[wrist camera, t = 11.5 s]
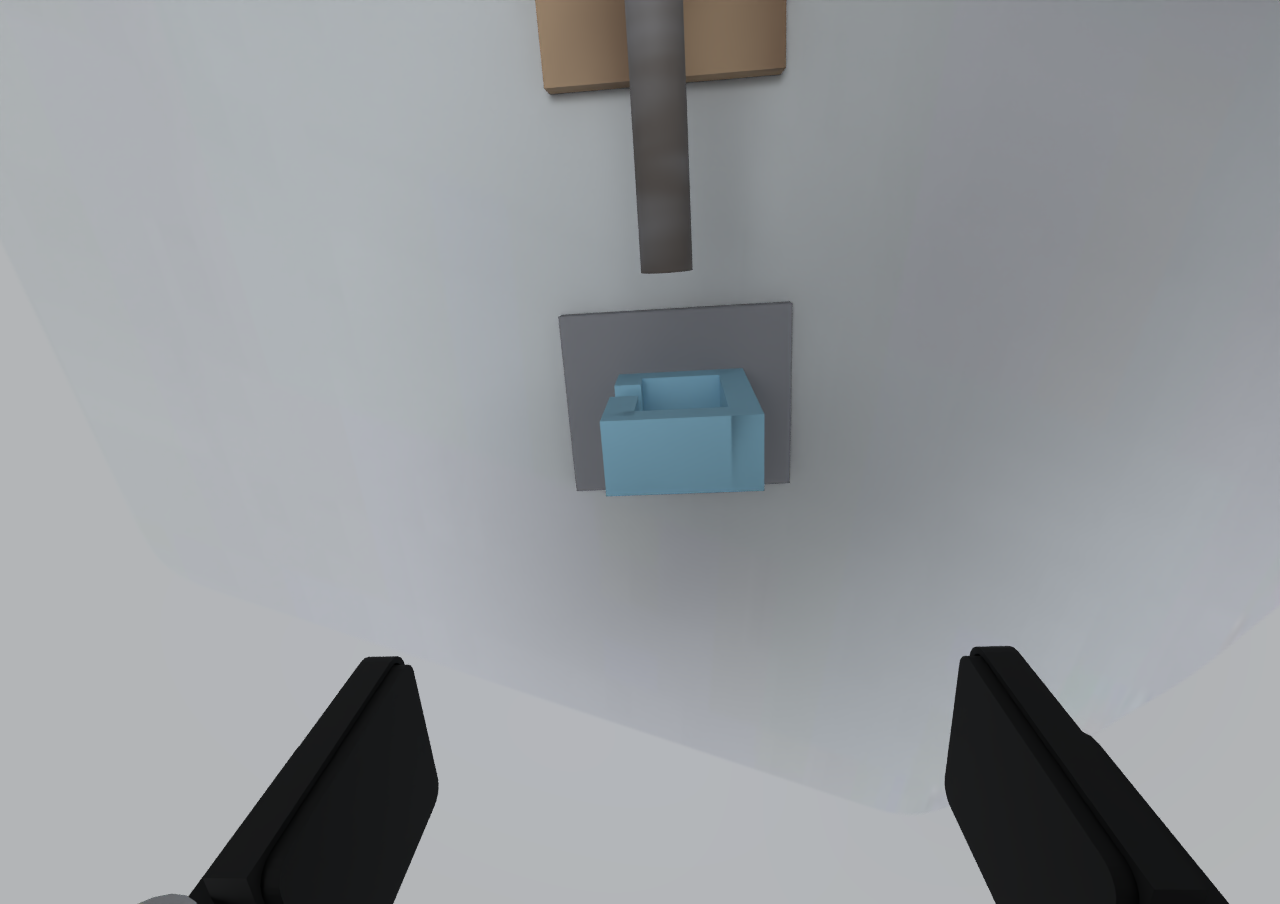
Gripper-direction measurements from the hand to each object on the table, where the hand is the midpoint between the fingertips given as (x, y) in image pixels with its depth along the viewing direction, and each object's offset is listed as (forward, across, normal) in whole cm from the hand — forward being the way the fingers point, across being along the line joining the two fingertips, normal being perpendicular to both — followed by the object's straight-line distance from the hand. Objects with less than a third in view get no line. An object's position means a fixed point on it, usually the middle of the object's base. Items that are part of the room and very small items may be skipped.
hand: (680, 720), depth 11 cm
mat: (+22, 0, 0) cm, 22 cm away
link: (+21, 0, 0) cm, 21 cm away
